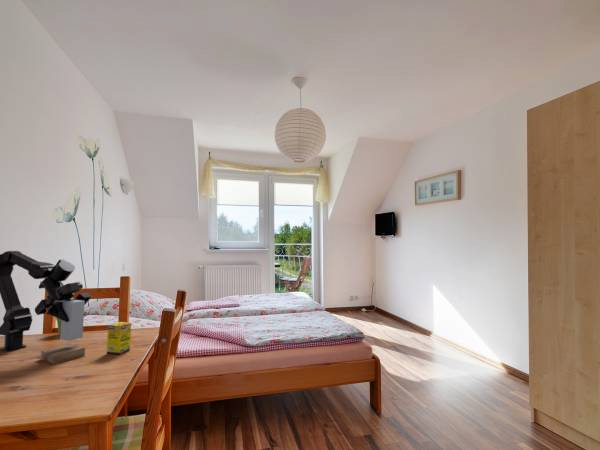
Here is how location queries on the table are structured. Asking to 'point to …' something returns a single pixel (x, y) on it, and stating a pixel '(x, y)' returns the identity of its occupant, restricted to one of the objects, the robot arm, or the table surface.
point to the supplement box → (119, 338)
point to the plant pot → (59, 325)
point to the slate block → (73, 320)
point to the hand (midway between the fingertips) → (75, 319)
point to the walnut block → (62, 353)
